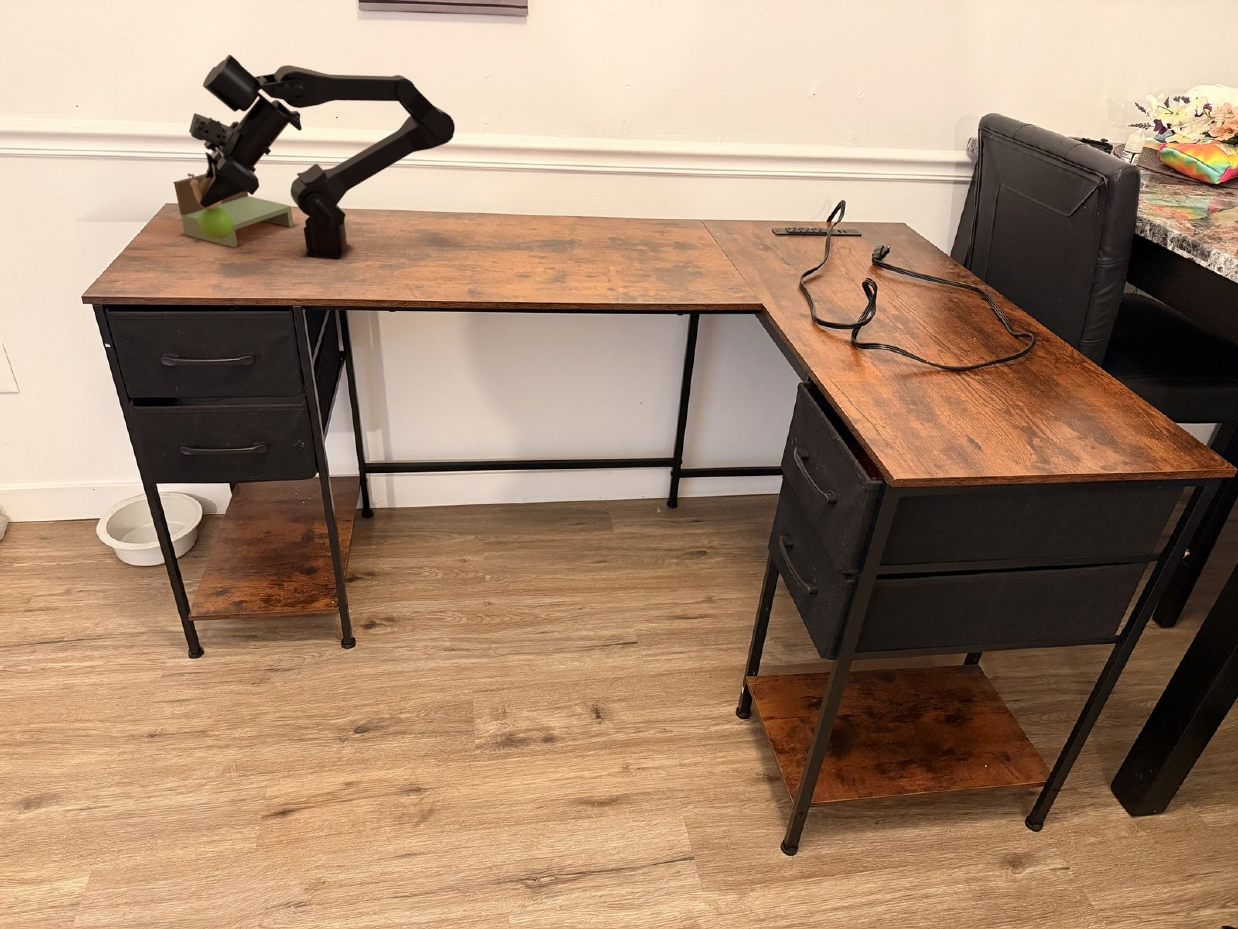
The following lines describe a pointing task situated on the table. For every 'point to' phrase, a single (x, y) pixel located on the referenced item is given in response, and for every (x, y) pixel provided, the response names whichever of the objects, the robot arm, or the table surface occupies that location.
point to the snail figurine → (211, 213)
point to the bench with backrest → (229, 211)
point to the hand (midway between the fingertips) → (200, 202)
